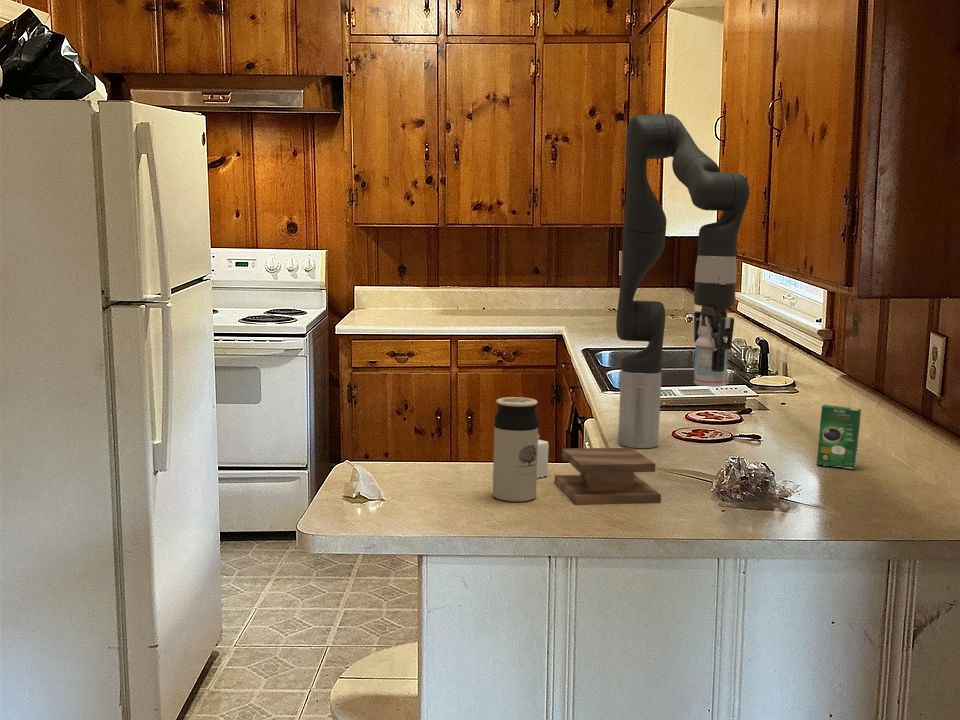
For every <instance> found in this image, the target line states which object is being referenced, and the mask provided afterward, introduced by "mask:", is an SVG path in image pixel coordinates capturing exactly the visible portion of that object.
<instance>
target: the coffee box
mask: <svg viewBox="0 0 960 720" xmlns="http://www.w3.org/2000/svg"><path fill="white" fill-rule="evenodd" d="M820 411H821V412H820V424H819V431H818V432H819V434H818V444H817V445H818V447H817V456H816V457H817V458H816V459H817V460H816V466H818V465H826V466H827V465H828V466H841V467H852V468H855V469H856V467H855V466H857V456H858V447H859V435H860V427H861V426H860V424H861V416H862V415H861V414H862V408H855V407H846V406H838V405H830V404H823V405H822V406H821V410H820Z"/></svg>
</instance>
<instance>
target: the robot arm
mask: <svg viewBox="0 0 960 720" xmlns="http://www.w3.org/2000/svg"><path fill="white" fill-rule="evenodd" d="M625 140H626V141H625V143H626V146H625V148H626V150H625V151H626V153H625V154H626V156H625V157H626V159H625V160H626V193H625V194H626V195H625V206H624V208H625V209H624V218H623V230H622V232H623V233H622V254H621V255H622V258H621V275H620V276H621V277H620V287H619V294H618V302H617V310H616V311H617V312H616V321H615V325H616V328H615V329H616V335H617V337H618V339H620V340H621V341H627V342H628V341H629V342H633V341H634V342H648V344H647V346H646V347H645V348H644V349H642V350H639V351H638V352H635V353H633V354H629V355H625V356H624V357H623V358H622V359H621V362H620V385H619V386H620V387H619V388H620V389H619V391H620V392H619V409H618V412H619V413H618V435H617V443H618V445H619V446H622V447H625V448H633V449H634V448H637V449H650V448H657V447H658V446H659V437H660V435H659V434H660V433H659V431H660V418H661V417H660V416H661V412H660V411H661V393H662V392H661V391H662V370H663V369H662V364H663V363H662V362H663V346H664V335H665V326H666V325H665V324H666V309H665V305H664V304H663V303H662V302H661V301H657V300H634V298H635V295H636V291H637V289H638V288H639V285H640V283H641V282H642V281H643V278H645V277H646V275H647V273H648V272H649V271H650V270H651V269H652V268H653V266H654V265H655V263H657V261H658V260H659V258H660V257H661V255H662V254H663V252H664V249H665V245H666V233H667V232H666V231H667V216H666V213H665V211H664V209H663V207H662V205H661V204H660V202H659V200H658V198H657V197H656V194H655V193H654V191H653V190H652V188H651V186H650V183H649V180H648V174H647V161H648V160H657V159H658V160H659V159H667V158H672V162H671V163H672V164H671V165H672V166H671V167H672V171H673V174H674V176H675V177H676V178H677V180H678V181H680V183H681V184H682V185H683V186H685V188H687V191H688V193H689V196H690V200H691V202H692V204H693V206H694V207H696V208H698V209H699V210H702V211H715V212H716V211H719V212H720V211H721V212H722V214H721V215H720V217H719V219H718V221H717V220H716V221H715V222H711V223H707V224H704V225H702V226H701V227H700V228H699V230H698V244H697V259H696V265H695V274H694V293H693V294H694V295H693V296H694V297H693V304H694V305H695V306H700V307H701V311H699V310H698V311H697V310H696V311H694V312H693V341H694V343H696V341H697V339H698V338H700V337H701V334H700V333H701V332H700V326H701V325H705V326H707V327H708V337H709V340H711V341H712V348H713V351H712V368H711V369H712V371H715V372H722V371H724V361H725V351H727V349H728V350H731V349H732V347H733V345H732V344H733V335H734V326H735V318H734V317H730V316H728V314H727V308H728V307H729V308H730V307H733V306H735V303H736V287H737V285H736V284H737V257H736V256H737V246H738V245H737V244H738V243H737V240H738V233H739V229H740V226H741V223H742V221H743V216H744V214H745V212H746V208H747V205H748V203H749V202H748V201H749V199H750V185H749V182H748V180H747V178H746V177H745V175H743V174H741V173H737V172H722V171H721V169H720V167H719V166H718V164H717V163H716V161H714V160H713V159H712V158H711V157H709V156H708V155H707V153H704V151H702V150H701V149H700V148H699V147H698V145H697V144H696V142H695V141H694V139H693V138H692V136H691V134H690V133H689V132H688V130H687V129H686V127H685V125H684V124H683V123H682V120H680V119H679V117H677V116H676V115H674V114H672V113H671V114H670V113H656V114H655V113H653V114H652V113H651V114H638V115H634V116H632V117H631V118H630V120H629V122H628V124H627V131H626V139H625ZM714 333H718V334H714ZM716 340H717V341H716ZM726 340H727V341H726Z"/></svg>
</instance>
